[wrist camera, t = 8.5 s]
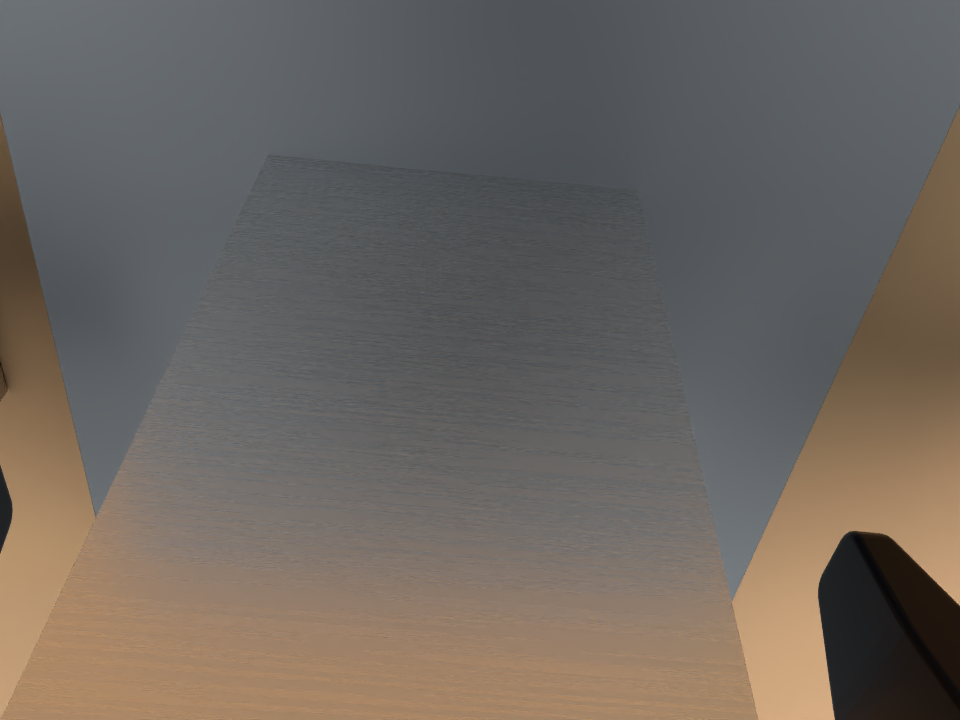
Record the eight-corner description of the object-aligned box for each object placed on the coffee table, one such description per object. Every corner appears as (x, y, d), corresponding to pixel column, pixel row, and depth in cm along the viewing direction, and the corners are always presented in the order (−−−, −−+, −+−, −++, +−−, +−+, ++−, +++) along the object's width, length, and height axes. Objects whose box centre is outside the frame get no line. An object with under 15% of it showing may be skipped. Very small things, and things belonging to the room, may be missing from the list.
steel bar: (284, 427, 14) (91, 1092, 7) (267, 154, 11) (-63, 851, 5) (580, 452, 14) (633, 1124, 8) (638, 190, 11) (803, 911, 5)
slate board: (157, 673, 20) (142, 716, 19) (-221, -1164, 6) (-330, -1283, 5) (653, 715, 20) (659, 758, 19) (1342, -897, 7) (1454, -969, 6)
